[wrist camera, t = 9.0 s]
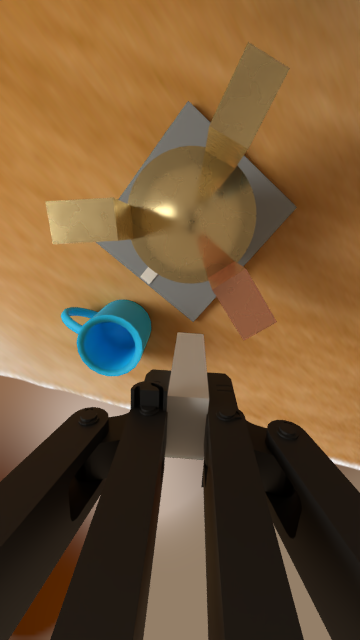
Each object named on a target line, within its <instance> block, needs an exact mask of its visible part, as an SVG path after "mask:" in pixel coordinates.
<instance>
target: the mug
mask: <svg viewBox="0 0 360 640" xmlns="http://www.w3.org/2000/svg"><path fill="white" fill-rule="evenodd" d="M70 316H83V317H87V318H91V319H90V320H89V321H87V322H86V323H85V324H84V325H83V326H82V325H80V324H78V323H77V322H75V321H74V320H73V319H72V318H71V317H70ZM61 318H62V321H63V323H64V324H65V325H66V326H67V327H68V328H69V329H71V330H72V331H74V332H75V333H77V334H78V338H77V348H78V353H79V355H80V357H81V359H82V361H83V362H84V363H85V364H86V365H87V366H88V367H89V368H90V369H92V370H93V371H95V372H97V373H98V374H102V375H106V376H120V375H123V374H126V373H128V372H129V371H131V370H132V369H133V368H135V367H136V365H137V364H138V362H139V361H140V359H141V357H142V354H143V352H144V349H145V347H146V344H147V342H148V339H149V337H150V333H151V320H150V318H149V315H148V313H147V312H146V311H145V310H144V309H143V307H142V306H140V305H138V304H137V303H135V302H133V301H129V300H116V301H113V302H111V303H109V304H108V305H106V306H105V307H104V308H103V309H102V310H100V311H99V312H96V311H92V310H89V309H85V308H79V307H70V308H67V309H65V310H64V311H63V312H62V314H61Z"/></svg>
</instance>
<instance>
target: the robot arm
mask: <svg viewBox="0 0 360 640" xmlns="http://www.w3.org/2000/svg"><path fill="white" fill-rule="evenodd" d="M165 457H172V458H185V459H197V460H203V458H204V466H203V476H202V477H203V478H202V487H204V517H205V547H206V578H207V610H208V639H209V640H304V639H303V635H302V631H301V627H300V624H299V620H298V616H297V612H296V608H295V605H294V601H293V597H292V594H291V590H290V586H289V582H288V578H287V574H286V571H285V567H284V564H283V559H282V556H281V552H280V548H279V545H278V540H277V537H276V533H275V529H274V526H275V528H276V530H277V532H278V534H279V536H280V538H281V540H282V542H283V544H284V546H285V548H286V549H287V552H288V554H289V555H290V558H291V559H292V562H293V563H294V566H295V567H296V569H297V571H298V573H299V575H300V577H301V579H302V581H303V583H304V585H305V587H306V589H307V591H308V593H309V595H310V597H311V599H312V601H313V603H314V605H315V607H316V609H317V611H318V613H319V615H320V617H321V619H322V621H323V623H324V625H325V627H326V629H327V631H328V633H329V635H330V637H331V639H332V640H360V493H359V492H358V490H357V489H356V488H355V487H354V486H353V485H352V483H351V482H350V481H349V480H348V479H347V478H346V477H345V476H344V474H343V473H342V472H341V471H340V470H339V469H338V468H337V467H336V465H335V464H334V463H333V462H332V461H331V460H330V459H329V458H328V456H327V455H326V454H325V453H324V452H323V451H322V450H321V448H320V447H319V446H318V445H317V444H316V443H315V442H314V441H313V439H312V438H311V437H310V436H309V435H308V434H307V433H306V432H305V430H303V429H302V428H301V427H300V426H298V425H296V424H294V423H292V422H289V421H285V420H275V421H272V422H270V423H269V424H268V427H267V428H264V427H261V426H257V425H254V424H252V423H250V422H248V421H246V419H245V416H244V414H243V413H242V412H241V411H240V410H239V409H238V406H237V402H236V398H235V394H234V390H233V385H232V381H231V379H230V378H229V377H228V376H227V375H226V374H222V373H207V368H206V357H205V345H204V334H194V333H179V332H178V333H177V339H176V345H175V352H174V358H173V364H172V370H171V371H167V370H151V371H150V372H149V373H148V374H146V377H145V380H144V381H143V382H139V383H137V384H135V385H134V386H133V387H132V388H131V410H130V412H129V413H127V414H124V415H120V416H115V417H108V413H107V412H106V411H105V410H103V409H101V408H96V407H91V408H85V409H82V410H79V411H77V412H75V413H74V414H73V415H71V417H69V418H68V419H67V420H66V421H65V422H64V423H63V424H62V425H61V426H60V427H59V428H58V429H56V430H55V431H54V432H53V433H52V434H51V435H50V436H49V437H48V438H47V439H46V440H45V441H44V442H42V443H41V444H40V445H39V446H38V447H37V448H36V449H35V450H34V451H33V452H32V453H31V454H30V455H29V456H28V457H26V458H25V459H24V460H23V461H22V462H21V463H20V464H19V465H18V466H17V467H16V468H15V469H14V470H12V471H11V472H10V473H9V474H8V475H7V476H6V477H5V478H4V479H3V480H2V481H1V482H0V640H8V639H9V638H10V636H11V635H12V633H13V632H14V630H15V628H16V627H17V625H18V624H19V622H20V621H21V619H22V617H23V616H24V614H25V613H26V611H27V610H28V608H29V606H30V605H31V603H32V602H33V600H34V598H35V597H36V595H37V594H38V592H39V591H40V589H41V588H42V586H43V584H44V583H45V581H46V580H47V578H48V577H49V575H50V573H51V572H52V570H53V568H54V567H55V566H56V564H57V562H58V561H59V559H60V558H61V556H62V554H63V553H64V551H65V550H66V548H67V547H68V545H69V544H70V542H71V540H72V539H73V537H74V536H75V534H76V532H77V531H78V529H79V528H80V526H81V525H82V523H83V522H84V520H85V518H86V517H87V515H88V514H89V512H90V511H91V509H92V507H93V506H94V504H95V503H96V501H97V500H98V498H99V496H100V495H101V496H100V499H99V502H98V504H97V507H96V510H95V513H94V516H93V519H92V522H91V524H90V527H89V530H88V533H87V536H86V539H85V542H84V545H83V547H82V550H81V553H80V556H79V559H78V562H77V565H76V567H75V570H74V573H73V576H72V579H71V582H70V585H69V588H68V590H67V593H66V596H65V599H64V602H63V605H62V608H61V611H60V613H59V616H58V619H57V622H56V625H55V628H54V631H53V634H52V636H51V640H143V636H144V628H145V620H146V612H147V603H148V595H149V587H150V579H151V571H152V563H153V555H154V546H155V538H156V530H157V522H158V514H159V506H160V497H161V490H162V482H163V473H164V460H165ZM273 524H274V525H273Z"/></svg>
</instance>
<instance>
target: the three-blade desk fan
mask: <svg viewBox="0 0 360 640" xmlns="http://www.w3.org/2000/svg"><path fill="white" fill-rule="evenodd" d="M289 69H290V68H289V67H287V66H285V65H284V64H282V63H281V62H279V61H277V60H276V59H274V58H273V57H271V56H269V55H268V54H266V53H265V52H263V51H262V50H260V49H258V48H257V47H255V46H254V45H252V44H250V43H249V42H248V44H247V46H246V48H245V51H244V53H243V55H242V57H241V59H240V61H239V63H238V66H237V68H236V70H235V72H234V74H233V76H232V78H231V80H230V83H229V85H228V87H227V89H226V91H225V93H224V95H223V98H222V100H221V102H220V104H219V106H218V108H217V110H216V113H215V115H214V117H213V119H212V121H211V123H210V125H209V130H208V136H207V142H206V147H202V146H183V147H178V148H174V149H171V150H168V151H166V152H164V153H162V154H160V155H159V156H157V157H156V158H154V159H153V160H152V161H151V162H150V163H148V164H147V165H146V167H145V168H144V169H143V170H142V171H141V173H140V174H139V176H138V177H137V178H136V180H135V182H134V184H133V186H132V189H131V192H130V195H129V199H128V203H127V204H126V203H124V202H122V201H120V200H118V199H115V198H97V199H80V200H63V201H47V202H46V207H47V213H48V219H49V224H50V230H51V236H52V242H53V244H65V243H85V242H104V241H120V240H131V242H132V244H133V247H134V249H135V250H136V252H137V254H138V255H139V257H140V258H141V259H142V261H143V262H144V263H145V264H146V265H147V266H148V267H149V268H150V269H151V270H153V271H154V272H155V273H157V274H159V275H160V276H162V277H164V278H166V279H169V280H172V281H175V282H179V283H190V284H194V283H202V282H206V281H209V283H210V285H211V288H212V290H213V292H214V294H215V295H216V297H217V298H218V300H219V302H220V303H221V305H222V306H223V308H224V310H225V311H226V313H227V314H228V316H229V318H230V319H231V321H232V323H233V324H234V326H235V327H236V329H237V331H238V332H239V334H240V335H241V337H242V339H243V340H246V339H247V338H249V337H251V336H253V335H255V334H256V333H258V332H260V331H262V330H263V329H265V328H267V327H269V326H271V325H272V324H274V323H276V322H277V321H276V320H275V318H274V316H273V314H272V313H271V311H270V309H269V307H268V306H267V304H266V302H265V300H264V299H263V297H262V295H261V294H260V292H259V290H258V288H257V287H256V285H255V283H254V281H253V280H252V278H251V276H250V274H249V273H248V271H247V269H246V268H244V267H243V266H241V265H240V264H238V261H239V260H240V259H241V258H242V257H243V255H244V253H245V252H246V250H247V249H248V247H249V244H250V242H251V240H252V237H253V234H254V230H255V225H256V203H255V197H254V194H253V190H252V188H251V185H250V183H249V181H248V179H247V177H246V176H245V174H244V173H243V171H242V170H241V169H240V168H239V167H238V163H239V162H240V160H241V159H242V157H243V156H244V154H245V153H246V151H247V150H248V148H249V146H250V144H251V143H252V141H253V139H254V137H255V135H256V133H257V131H258V129H259V127H260V125H261V123H262V121H263V119H264V117H265V115H266V113H267V111H268V110H269V108H270V106H271V104H272V102H273V100H274V98H275V96H276V94H277V92H278V90H279V88H280V86H281V84H282V82H283V80H284V78H285V77H286V75H287V73H288V71H289Z"/></svg>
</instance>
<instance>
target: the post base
mask: <svg viewBox="0 0 360 640" xmlns="http://www.w3.org/2000/svg"><path fill="white" fill-rule="evenodd" d="M209 125H210V122H209V121H208V120H207V119H206V118H205V117H204V116H203V115H202V114H201V113H200V112H199V111H198V110H197V109H196V108H195V107H194V106H193V105H192V104H191V103H190V102H189V101H188V102H187V103H186V105H185V106H184V108H183V109H182V110H181V112H180V113H179V115H178V116H177V117H176V119H175V120H174V122H173V123H172V124H171V126H170V127H169V129H168V130H167V132H166V133H165V134H164V136H163V137H162V139H161V140H160V141H159V143H158V144H157V146H156V147H155V148H154V150H153V151H152V153H151V154H150V156H149V157H148V158H147V160H146V161H145V163H144V164H143V165H142V167H141V168H140V170H139V171H138V172H137V174H136V175H135V177H134V178H133V180H132V181H131V182H130V184H129V185H128V187H127V188H126V189H125V191H124V192H123V194H122V195H121V196H120V198H119V199H118V200H120V201H122V202H124V203H126V204H127V203H128V199H129V195H130V192H131V189H132V186H133V184H134V182H135V180H136V178H137V177H138V176H139V174H140V173H141V171H142V170H143V169H144V168H145V167H146V165H147V164H148V163H150V162H151V161H152V160H153V159H154V158H156V157H157V156H159V155H160V154H162V153H164V152H166V151H168V150H171V149H174V148H178V147H183V146H202V147H206V142H207V136H208V130H209ZM238 167H239V168H240V169H241V170H242V171H243V173H244V174H245V176H246V177H247V179H248V181H249V183H250V185H251V188H252V190H253V194H254V197H255V203H256V225H255V230H254V234H253V237H252V240H251V242H250V244H249V247H248V249H247V250H246V252H245V253H244V255H243V257H242V258H241V259H240V260H239V261H238V264H240V265H241V266H244V265H245V264H246V263H247V262H248V261H249V260H250V259H251V257H252V256H253V255H254V254H255V253H256V252H257V251H258V250H259V249H260V248H261V246H262V245H263V244H264V243H265V242H266V241H267V240H268V239H269V238H270V236H271V235H272V234H273V233H274V232H275V231H276V230H277V229H278V228H279V226H280V225H281V224H282V223H283V222H284V221H285V220H286V219H287V218H288V217H289V215H290V214H291V213H292V212H293V211H294V210H295V209H296V208H297V207H296V206H295V205H294V204H293V203H292V202H291V201H290V200H289V199H288V198H287V197H286V196H285V195H284V194H283V193H282V192H281V191H280V190H279V189H278V188H277V187H276V186H275V185H274V184H273V183H272V182H271V181H269V180H268V179H267V178H266V177H265V176H264V175H263V174H262V173H261V172H260V171H259V170H258V169H257V168H256V167H255V166H254V165H253V164H252V163H251V162H250V161H249V160H248V159H247V158H246V157H245V156H243V157H242V159H241V160H240V162H239V163H238ZM96 243H97V244H99V245H100V246H101V247H102V248H104V249H105V250H106V251H107V252H108V253H110V254H111V255H112V256H113V257H115V258H116V259H117V260H118V261H119V262H121V263H122V264H123V265H124V266H126V267H127V268H128V269H129V270H130V271H132V272H133V273H134V274H135V275H136V276H138V277H139V278H140V279H141V280H143V281H144V282H145V283H146V284H147V285H149V286H150V287H151V288H152V289H154V290H155V291H156V292H157V293H158V294H160V295H161V296H162V297H163V298H165V299H166V300H167V301H168V302H169V303H171V304H172V305H173V306H174V307H175V308H177V309H178V310H179V311H180V312H182V313H183V314H184V315H185V316H186V317H188V318H189V319H190V320H191V321H193V322H194V321H195V320H196V318H197V317H198V316H199V315H200V314H201V313H202V312H203V311H204V310H205V308H206V307H207V306H208V305H209V304H210V303H211V302H212V301H213V300H214V298H215V297H216V295H215V294H214V292H213V290H212V288H211V285H210V283H209V281H206V282H202V283H194V284H190V283H179V282H175V281H172V280H169V279H166V278H164V277H162V276H160V275H159V274H157V273H155V272H154V271H153V270H151V269H150V268H149V267H148V266H147V265H146V264H145V263H144V262H143V261H142V259H141V258H140V257H139V255H138V254H137V252H136V250H135V249H134V247H133V244H132V242H131V240H120V241H104V242H96Z"/></svg>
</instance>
